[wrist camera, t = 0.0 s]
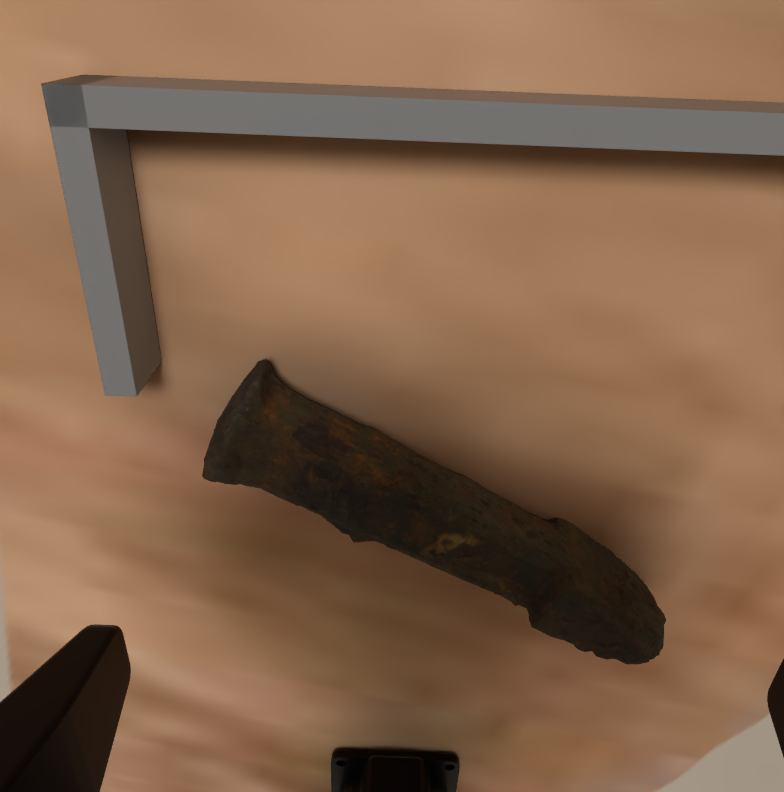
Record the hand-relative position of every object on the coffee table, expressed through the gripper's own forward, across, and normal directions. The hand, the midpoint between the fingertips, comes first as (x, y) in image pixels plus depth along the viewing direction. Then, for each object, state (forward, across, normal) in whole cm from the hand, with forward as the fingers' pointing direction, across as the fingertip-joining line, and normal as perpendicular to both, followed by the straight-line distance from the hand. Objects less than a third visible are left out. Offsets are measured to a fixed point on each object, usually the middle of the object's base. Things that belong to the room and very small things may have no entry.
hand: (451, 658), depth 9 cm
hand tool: (+15, -2, +8) cm, 17 cm away
